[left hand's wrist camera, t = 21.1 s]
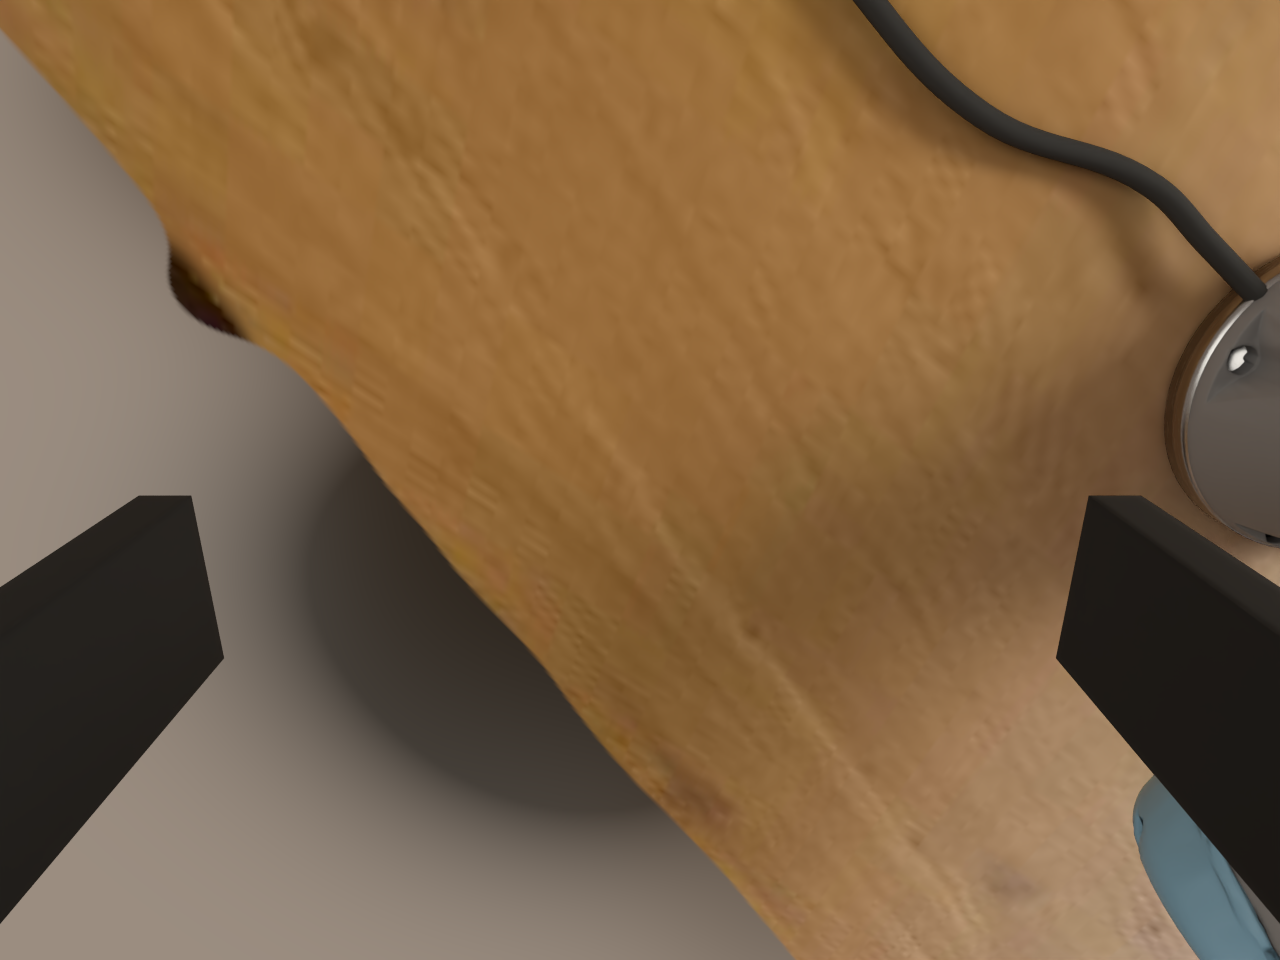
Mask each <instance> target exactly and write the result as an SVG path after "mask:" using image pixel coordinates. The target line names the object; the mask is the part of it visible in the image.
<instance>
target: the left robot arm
mask: <svg viewBox="0 0 1280 960" xmlns="http://www.w3.org/2000/svg"><path fill="white" fill-rule="evenodd" d="M853 1H854V2H855V4H856V5H857V6H858V8H859V9H860V10H861V11H862V13H863V14H864V15H865V16H866V18H867V19H868V20H869V22H870V23H871V24H872V25H873V27H874V28H875V29H876V30H877V32H878V33H879V34H880V35H881V37H882V38H883V39H884V40H885V42H886V43H887V44H888V45H889V47H890V48H891V49H892V50H893V51H894V53H895V54H896V55H897V56H898V57H899V58H900V60H901V61H902V62H903V63H904V64H905V65H906V66H907V68H908V69H909V70H910V71H911V72H912V73H913V74H914V75H915V76H916V77H917V78H918V79H919V80H920V81H921V82H922V83H923V84H924V85H925V86H926V87H927V88H928V89H929V90H930V91H931V92H932V93H933V94H934V95H935V96H937V97H938V98H939V99H940V100H941V101H942V102H944V103H945V104H946V105H947V106H948V107H950V108H951V109H952V110H954V111H955V112H956V113H957V114H959V115H960V116H961V117H963V118H964V119H965V120H967V121H968V122H970V123H971V124H972V125H974V126H975V127H977V128H979V129H980V130H982V131H983V132H985V133H987V134H988V135H990V136H992V137H994V138H996V139H998V140H1000V141H1002V142H1004V143H1006V144H1008V145H1011V146H1013V147H1016V148H1018V149H1021V150H1024V151H1026V152H1029V153H1032V154H1035V155H1039V156H1042V157H1046V158H1049V159H1053V160H1057V161H1060V162H1064V163H1068V164H1071V165H1075V166H1078V167H1082V168H1085V169H1089V170H1091V171H1094V172H1097V173H1100V174H1103V175H1105V176H1108V177H1110V178H1112V179H1115V180H1117V181H1119V182H1121V183H1123V184H1125V185H1127V186H1129V187H1130V188H1132V189H1134V190H1135V191H1137V192H1138V193H1140V194H1142V195H1143V196H1145V197H1146V198H1147V199H1149V200H1150V201H1151V202H1153V203H1154V204H1155V205H1156V206H1157V207H1158V208H1159V209H1160V210H1161V211H1162V212H1163V213H1164V214H1165V215H1166V216H1167V217H1168V218H1169V219H1170V220H1171V222H1172V223H1173V224H1174V225H1175V226H1176V228H1177V229H1178V230H1179V231H1180V232H1181V234H1182V235H1183V236H1184V237H1185V238H1186V240H1187V241H1188V242H1189V243H1190V244H1191V245H1192V246H1193V247H1194V249H1195V250H1196V251H1197V252H1198V253H1199V254H1200V255H1201V256H1202V257H1203V258H1204V259H1205V260H1206V261H1207V262H1208V263H1209V264H1210V265H1211V266H1212V267H1213V268H1214V270H1215V271H1216V272H1217V273H1218V274H1219V275H1220V276H1221V277H1222V278H1223V279H1224V280H1225V281H1226V282H1227V283H1228V284H1229V285H1230V286H1231V287H1232V288H1233V290H1232V291H1231V292H1230V293H1229V294H1227V295H1226V296H1225V297H1224V298H1223V299H1222V300H1221V301H1220V302H1219V303H1218V305H1217V306H1216V307H1215V308H1214V309H1213V310H1212V311H1211V312H1210V313H1209V315H1208V316H1207V317H1206V319H1205V320H1204V321H1203V322H1202V324H1201V325H1200V326H1199V328H1198V329H1197V331H1196V332H1195V334H1194V335H1193V337H1192V338H1191V340H1190V342H1189V343H1188V345H1187V347H1186V349H1185V351H1184V353H1183V354H1182V356H1181V359H1180V361H1179V363H1178V366H1177V368H1176V370H1175V373H1174V376H1173V379H1172V382H1171V385H1170V389H1169V393H1168V397H1167V402H1166V410H1165V424H1164V432H1165V444H1166V449H1167V454H1168V458H1169V461H1170V464H1171V467H1172V470H1173V472H1174V474H1175V476H1176V478H1177V481H1178V482H1179V484H1180V485H1181V487H1182V488H1183V490H1184V492H1185V493H1186V494H1187V495H1188V496H1189V498H1190V499H1191V500H1192V501H1193V502H1194V503H1195V504H1196V505H1197V506H1198V507H1199V508H1200V509H1201V510H1203V511H1204V512H1205V513H1207V514H1208V515H1209V516H1211V517H1212V518H1214V519H1215V520H1217V521H1219V522H1220V523H1222V524H1224V525H1225V526H1227V527H1228V528H1230V529H1232V530H1233V531H1235V532H1237V533H1239V534H1240V535H1242V536H1244V537H1246V538H1248V539H1250V540H1253V541H1255V542H1257V543H1261V544H1264V545H1267V546H1271V547H1276V548H1280V257H1278V258H1276V259H1275V260H1273V261H1271V262H1270V263H1268V264H1266V265H1264V266H1263V267H1261V268H1260V269H1259V270H1257V271H1256V272H1253V271H1252V270H1251V269H1250V268H1249V267H1248V266H1247V264H1246V263H1245V262H1244V261H1243V260H1242V259H1241V258H1240V257H1239V256H1238V255H1237V254H1236V253H1235V252H1234V251H1233V250H1232V249H1231V247H1230V246H1229V245H1228V244H1227V243H1226V242H1225V241H1224V240H1223V239H1222V238H1221V237H1220V236H1219V235H1218V234H1217V233H1216V232H1215V231H1214V229H1213V228H1212V227H1211V226H1210V225H1209V224H1208V222H1207V221H1206V220H1205V219H1204V218H1203V216H1202V215H1201V214H1200V213H1199V212H1198V210H1197V209H1196V208H1195V207H1194V206H1193V204H1192V203H1191V202H1190V201H1189V200H1188V199H1187V198H1186V197H1185V196H1184V195H1183V194H1182V193H1181V192H1180V191H1179V190H1178V189H1177V188H1176V187H1175V186H1174V185H1173V184H1171V183H1170V182H1169V181H1168V180H1166V179H1165V178H1163V177H1162V176H1161V175H1159V174H1157V173H1156V172H1154V171H1153V170H1151V169H1149V168H1148V167H1146V166H1144V165H1142V164H1140V163H1138V162H1136V161H1134V160H1132V159H1130V158H1128V157H1126V156H1123V155H1121V154H1118V153H1116V152H1113V151H1110V150H1107V149H1104V148H1101V147H1098V146H1095V145H1091V144H1088V143H1084V142H1081V141H1077V140H1073V139H1070V138H1066V137H1062V136H1059V135H1056V134H1052V133H1049V132H1046V131H1043V130H1040V129H1037V128H1034V127H1032V126H1029V125H1027V124H1024V123H1022V122H1020V121H1018V120H1016V119H1014V118H1012V117H1010V116H1008V115H1006V114H1004V113H1003V112H1001V111H999V110H998V109H996V108H995V107H993V106H992V105H990V104H989V103H987V102H986V101H985V100H983V99H982V98H980V97H979V96H978V95H976V94H975V93H974V92H973V91H971V90H970V89H969V88H967V87H966V86H965V85H964V84H963V83H961V82H960V81H959V80H958V79H957V78H956V77H955V76H953V75H952V74H951V73H950V72H949V71H948V70H947V69H946V68H945V67H944V66H943V65H942V64H941V63H940V62H939V61H938V60H937V59H936V58H935V57H934V56H933V55H932V54H931V53H930V51H929V50H928V49H927V48H926V47H925V46H924V45H923V44H922V42H921V41H920V40H919V39H918V38H917V37H916V35H915V34H914V33H913V32H912V31H911V29H910V28H909V27H908V26H907V24H906V23H905V22H904V21H903V19H902V18H901V17H900V15H899V14H898V13H897V12H896V10H895V9H894V8H893V7H892V5H891V4H890V3H889V1H888V0H853ZM223 659H224V655H223V651H222V646H221V641H220V636H219V631H218V626H217V621H216V616H215V611H214V606H213V601H212V596H211V591H210V586H209V581H208V576H207V571H206V566H205V562H204V556H203V552H202V547H201V542H200V537H199V532H198V527H197V522H196V517H195V512H194V507H193V502H192V497H191V496H138V497H136V498H135V499H133V500H132V501H130V502H129V503H127V504H126V505H124V506H123V507H121V508H119V509H118V510H116V511H115V512H113V513H112V514H110V515H109V516H107V517H106V518H104V519H103V520H101V521H100V522H98V523H97V524H95V525H94V526H92V527H91V528H89V529H88V530H86V531H85V532H83V533H82V534H80V535H79V536H77V537H76V538H74V539H73V540H71V541H70V542H68V543H66V544H65V545H63V546H62V547H60V548H59V549H57V550H56V551H54V552H53V553H51V554H50V555H48V556H47V557H45V558H44V559H42V560H41V561H39V562H38V563H36V564H35V565H33V566H32V567H30V568H29V569H27V570H26V571H24V572H23V573H21V574H20V575H18V576H17V577H15V578H14V579H12V580H11V581H9V582H7V583H6V584H4V585H3V586H1V587H0V923H1V922H2V921H3V920H4V919H5V917H6V916H7V915H8V914H9V913H10V911H11V910H12V909H13V908H14V907H15V906H16V904H17V903H18V902H19V901H20V900H21V898H22V897H23V896H24V895H25V894H26V893H27V891H28V890H29V889H30V888H31V887H32V885H33V884H34V883H35V882H36V881H37V879H38V878H39V877H40V876H41V875H42V874H43V872H44V871H45V870H46V869H47V868H48V866H49V865H50V864H51V863H52V862H53V861H54V859H55V858H56V857H57V856H58V855H59V853H60V852H61V851H62V850H63V849H64V847H65V846H66V845H67V844H68V843H69V842H70V840H71V839H72V838H73V837H74V836H75V834H76V833H77V832H78V831H79V830H80V828H81V827H82V826H83V825H84V824H85V822H86V821H87V820H88V819H89V818H90V817H91V815H92V814H93V813H94V812H95V811H96V809H97V808H98V807H99V806H100V805H101V804H102V802H103V801H104V800H105V799H106V798H107V796H108V795H109V794H110V793H111V792H112V790H113V789H114V788H115V787H116V786H117V785H118V783H119V782H120V781H121V780H122V779H123V777H124V776H125V775H126V774H127V773H128V771H129V770H130V769H131V768H132V767H133V766H134V764H135V763H136V762H137V761H138V760H139V758H140V757H141V756H142V755H143V754H144V753H145V751H146V750H147V749H148V748H149V747H150V745H151V744H152V743H153V742H154V741H155V739H156V738H157V737H158V736H159V735H160V734H161V732H162V731H163V730H164V729H165V728H166V726H167V725H168V724H169V723H170V722H171V720H172V719H173V718H174V717H175V716H176V715H177V713H178V712H179V711H180V710H181V709H182V707H183V706H184V705H185V704H186V703H187V701H188V700H189V699H190V698H191V697H192V696H193V694H194V693H195V692H196V691H197V690H198V688H199V687H200V686H201V685H202V684H203V682H204V681H205V680H206V679H207V678H208V676H209V675H210V674H211V673H212V672H213V671H214V669H215V668H216V667H217V666H218V665H219V663H220V662H221V661H222V660H223ZM1056 659H1057V660H1058V661H1059V662H1060V664H1061V665H1062V666H1063V667H1064V668H1065V669H1066V671H1067V672H1068V673H1069V674H1070V675H1071V677H1072V678H1073V679H1074V680H1075V681H1076V682H1077V684H1078V685H1079V686H1080V687H1081V688H1082V690H1083V691H1084V692H1085V693H1086V694H1087V696H1088V697H1089V698H1090V699H1091V700H1092V701H1093V703H1094V704H1095V705H1096V706H1097V707H1098V709H1099V710H1100V711H1101V712H1102V713H1103V715H1104V716H1105V717H1106V718H1107V719H1108V720H1109V722H1110V723H1111V724H1112V725H1113V726H1114V728H1115V729H1116V730H1117V731H1118V732H1119V734H1120V735H1121V736H1122V737H1123V738H1124V739H1125V741H1126V742H1127V743H1128V744H1129V745H1130V747H1131V748H1132V749H1133V750H1134V751H1135V753H1136V754H1137V755H1138V756H1139V757H1140V758H1141V760H1142V761H1143V762H1144V763H1145V764H1146V766H1147V767H1148V768H1149V769H1150V770H1151V771H1152V773H1153V774H1154V775H1153V777H1152V778H1151V779H1150V780H1149V781H1148V782H1147V783H1146V784H1145V785H1144V786H1143V788H1142V789H1141V791H1140V792H1139V794H1138V797H1137V799H1136V802H1135V805H1134V810H1133V826H1134V836H1135V839H1136V842H1137V845H1138V847H1139V853H1140V858H1141V861H1142V864H1143V866H1144V868H1145V871H1146V873H1147V875H1148V877H1149V879H1150V882H1151V884H1152V885H1153V887H1154V889H1155V891H1156V893H1157V895H1158V897H1159V898H1160V900H1161V902H1162V904H1163V906H1164V907H1165V909H1166V911H1167V912H1168V914H1169V915H1170V917H1171V918H1172V920H1173V922H1174V923H1175V925H1176V926H1177V928H1178V930H1179V931H1180V932H1181V934H1182V935H1183V937H1184V938H1185V940H1186V941H1187V943H1188V944H1189V946H1190V947H1191V948H1192V950H1193V951H1194V952H1195V954H1196V955H1197V957H1198V958H1199V959H1200V960H1280V587H1279V586H1277V585H1276V584H1274V583H1273V582H1271V581H1270V580H1268V579H1266V578H1265V577H1263V576H1262V575H1260V574H1259V573H1257V572H1256V571H1254V570H1253V569H1251V568H1250V567H1248V566H1247V565H1245V564H1244V563H1242V562H1241V561H1239V560H1238V559H1236V558H1235V557H1233V556H1232V555H1230V554H1229V553H1227V552H1226V551H1224V550H1223V549H1221V548H1220V547H1218V546H1217V545H1215V544H1214V543H1212V542H1211V541H1209V540H1207V539H1206V538H1204V537H1203V536H1201V535H1200V534H1198V533H1197V532H1195V531H1194V530H1192V529H1191V528H1189V527H1188V526H1186V525H1185V524H1183V523H1182V522H1180V521H1179V520H1177V519H1176V518H1174V517H1173V516H1171V515H1170V514H1168V513H1167V512H1165V511H1164V510H1162V509H1161V508H1159V507H1158V506H1156V505H1155V504H1153V503H1151V502H1150V501H1148V500H1147V499H1145V498H1144V497H1142V496H1089V497H1088V502H1087V507H1086V512H1085V517H1084V522H1083V527H1082V532H1081V537H1080V542H1079V547H1078V552H1077V556H1076V561H1075V566H1074V571H1073V576H1072V581H1071V586H1070V591H1069V596H1068V601H1067V606H1066V611H1065V616H1064V621H1063V626H1062V631H1061V636H1060V641H1059V646H1058V651H1057V655H1056Z"/></svg>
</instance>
